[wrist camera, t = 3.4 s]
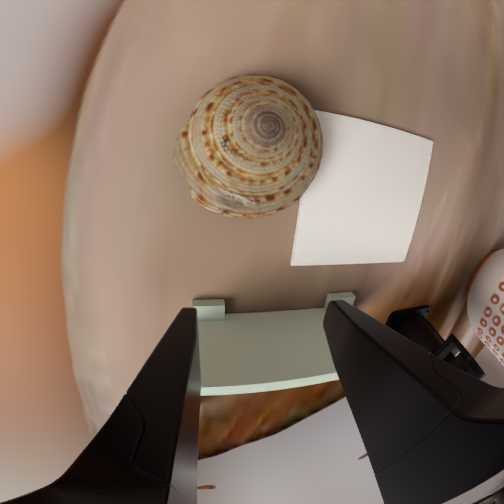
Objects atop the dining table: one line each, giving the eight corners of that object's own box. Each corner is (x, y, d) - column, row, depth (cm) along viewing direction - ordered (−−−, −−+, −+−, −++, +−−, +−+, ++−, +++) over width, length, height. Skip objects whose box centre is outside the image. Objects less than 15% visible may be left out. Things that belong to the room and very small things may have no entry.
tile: (431, 140, 17) (433, 141, 17) (402, 260, 22) (404, 261, 22) (310, 109, 15) (312, 109, 15) (290, 263, 20) (291, 265, 20)
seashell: (139, 180, 13) (223, 50, 9) (177, 142, 18) (246, 50, 13) (259, 260, 16) (367, 170, 11) (268, 207, 20) (347, 133, 15)
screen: (354, 291, 23) (394, 346, 17) (342, 325, 25) (375, 380, 19) (188, 299, 20) (187, 373, 14) (191, 336, 22) (193, 406, 16)
